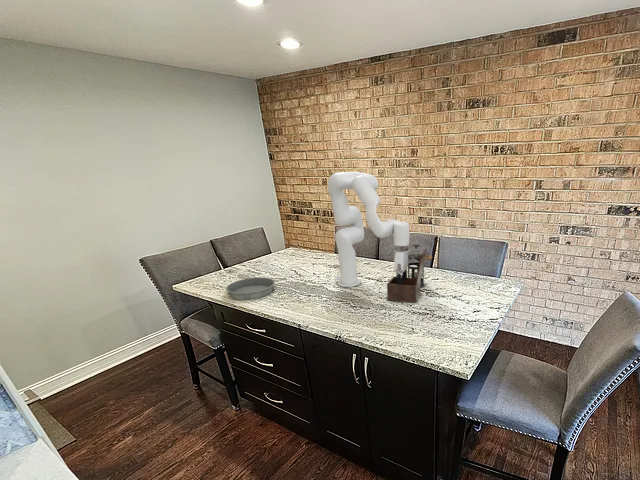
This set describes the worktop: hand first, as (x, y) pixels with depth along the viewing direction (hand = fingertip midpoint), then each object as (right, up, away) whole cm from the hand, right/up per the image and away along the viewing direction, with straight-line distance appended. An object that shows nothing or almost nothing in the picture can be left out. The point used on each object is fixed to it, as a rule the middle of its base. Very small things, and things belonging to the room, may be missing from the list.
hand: (401, 281), depth 170 cm
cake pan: (-81, -5, +13) cm, 83 cm away
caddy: (+1, -8, +3) cm, 8 cm away
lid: (+9, +7, -6) cm, 13 cm away
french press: (+8, -1, +19) cm, 21 cm away
